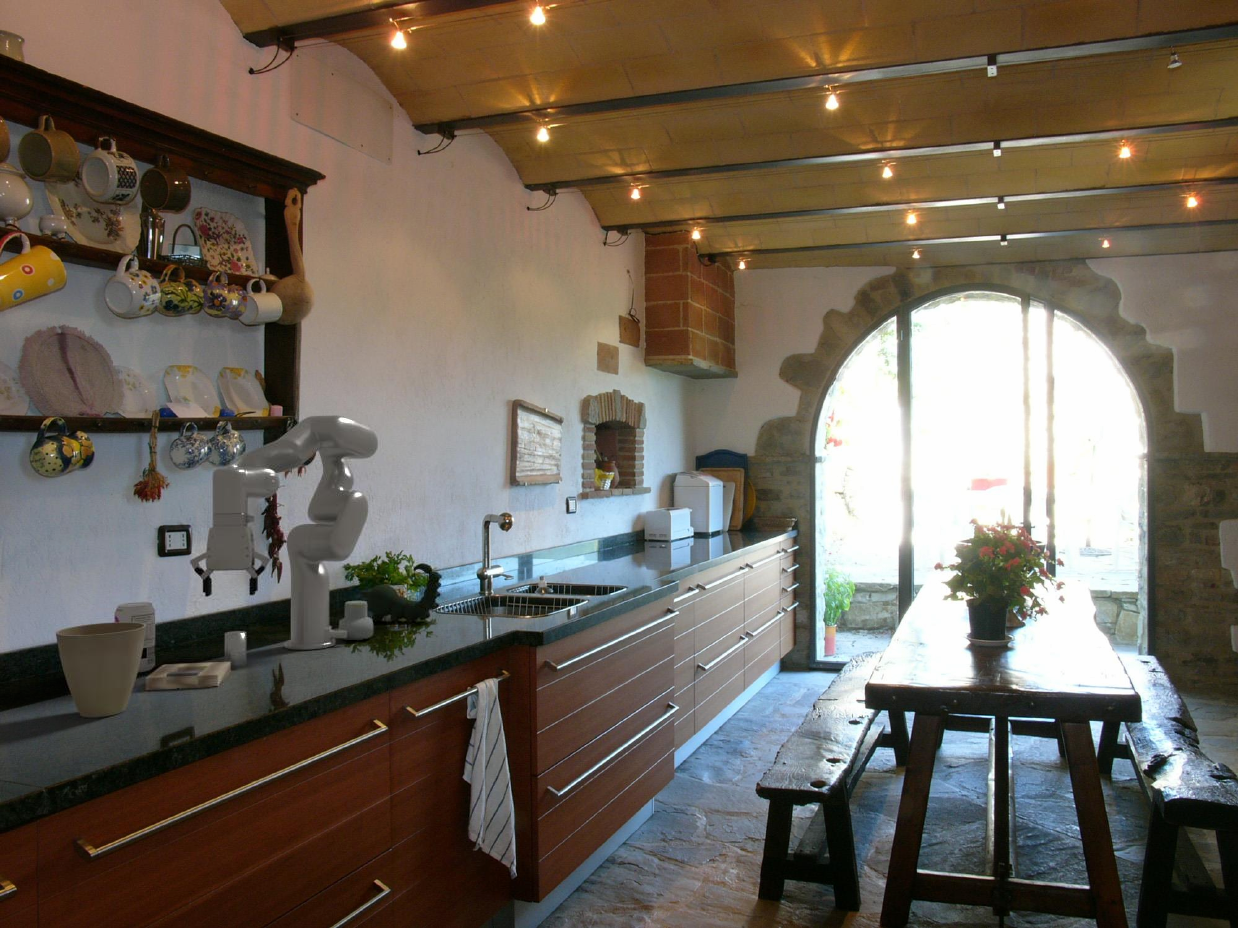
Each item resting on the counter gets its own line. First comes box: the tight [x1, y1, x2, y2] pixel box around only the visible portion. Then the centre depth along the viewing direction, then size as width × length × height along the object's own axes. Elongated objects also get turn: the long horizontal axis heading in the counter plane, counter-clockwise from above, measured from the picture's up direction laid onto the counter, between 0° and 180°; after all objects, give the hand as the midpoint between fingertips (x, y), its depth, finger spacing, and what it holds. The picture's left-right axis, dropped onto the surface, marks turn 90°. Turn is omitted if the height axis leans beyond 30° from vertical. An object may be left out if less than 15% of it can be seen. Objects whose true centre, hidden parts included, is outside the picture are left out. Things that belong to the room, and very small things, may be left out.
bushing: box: [224, 630, 247, 670], centre depth 217 cm, size 5×5×8 cm
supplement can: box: [114, 601, 156, 674], centre depth 215 cm, size 8×8×15 cm
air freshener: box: [338, 600, 374, 641], centre depth 254 cm, size 11×8×10 cm
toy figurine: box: [358, 563, 442, 624], centre depth 283 cm, size 9×19×25 cm
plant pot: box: [55, 621, 146, 718], centre depth 177 cm, size 15×15×16 cm
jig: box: [145, 661, 232, 691], centre depth 203 cm, size 14×14×3 cm
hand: (230, 595), depth 217 cm, fingers open, 9 cm apart
